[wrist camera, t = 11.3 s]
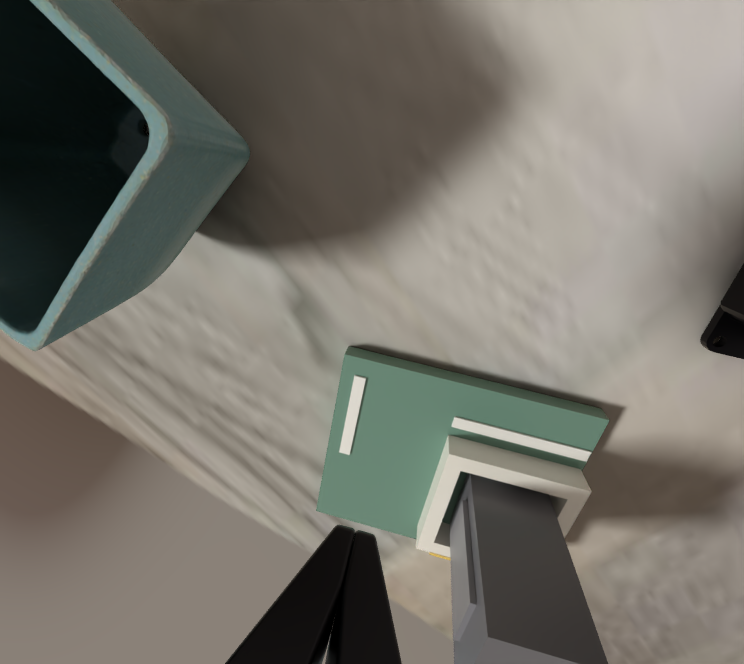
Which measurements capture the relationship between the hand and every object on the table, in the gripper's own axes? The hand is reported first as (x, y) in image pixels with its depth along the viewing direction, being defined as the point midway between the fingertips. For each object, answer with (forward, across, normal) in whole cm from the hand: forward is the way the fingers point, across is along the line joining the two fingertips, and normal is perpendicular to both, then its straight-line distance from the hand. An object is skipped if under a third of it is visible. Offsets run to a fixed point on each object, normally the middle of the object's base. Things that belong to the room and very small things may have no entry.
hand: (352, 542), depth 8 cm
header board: (+12, -4, +7) cm, 14 cm away
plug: (+11, -7, +8) cm, 15 cm away
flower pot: (+12, +12, -6) cm, 18 cm away
